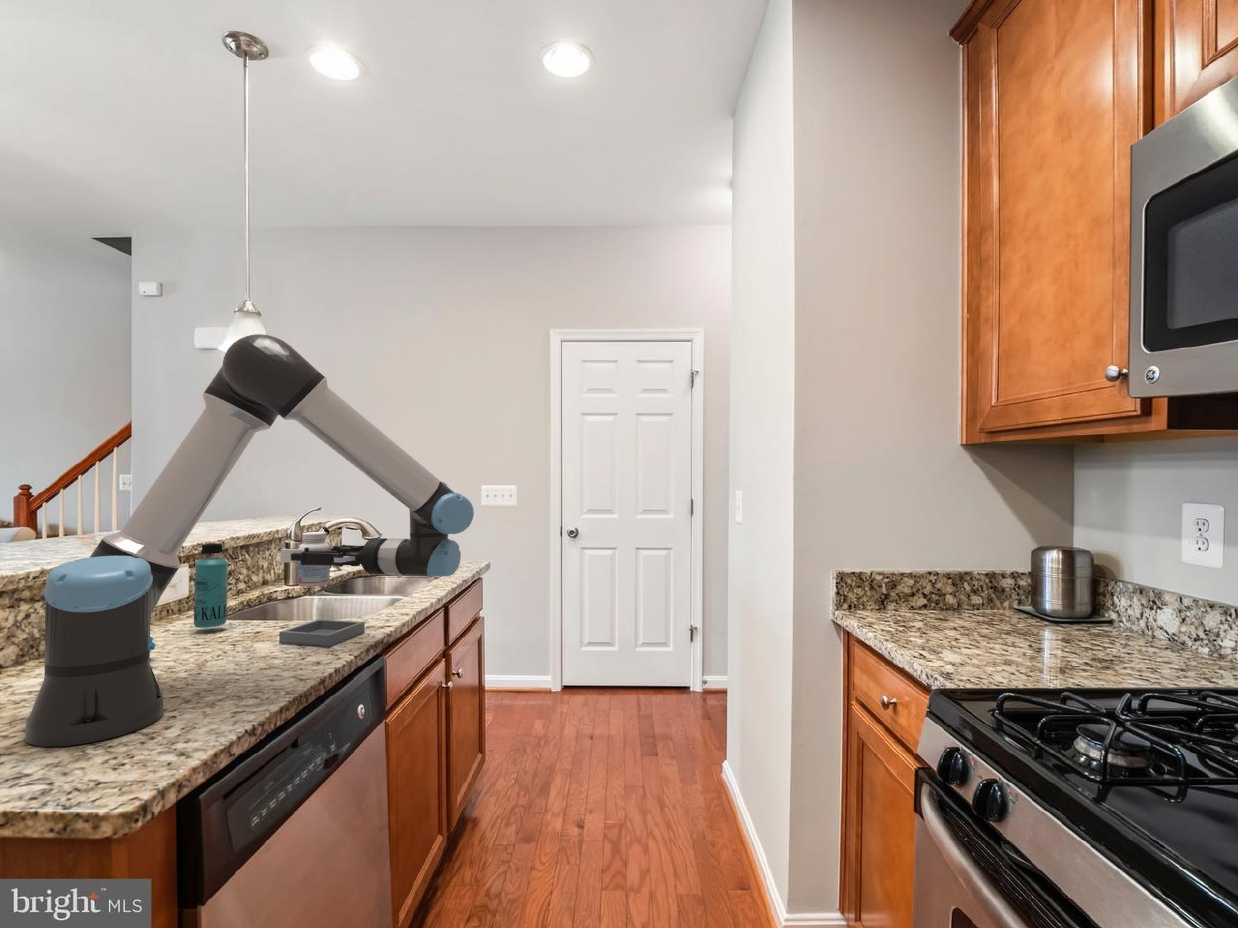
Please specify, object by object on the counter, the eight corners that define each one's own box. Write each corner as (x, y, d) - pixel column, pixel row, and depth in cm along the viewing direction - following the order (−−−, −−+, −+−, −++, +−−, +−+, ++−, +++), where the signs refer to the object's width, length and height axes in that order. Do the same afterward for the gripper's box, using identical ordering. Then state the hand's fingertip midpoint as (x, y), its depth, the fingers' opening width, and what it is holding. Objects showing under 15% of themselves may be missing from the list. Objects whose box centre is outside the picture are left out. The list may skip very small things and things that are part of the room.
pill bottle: (302, 582, 136) (302, 531, 137) (332, 581, 138) (332, 531, 138) (294, 587, 131) (294, 534, 131) (325, 586, 132) (325, 533, 132)
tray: (328, 647, 129) (328, 635, 129) (279, 643, 132) (279, 631, 132) (364, 633, 141) (364, 622, 141) (318, 629, 143) (318, 618, 143)
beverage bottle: (202, 627, 145) (204, 541, 145) (233, 627, 145) (234, 541, 146) (186, 635, 138) (187, 545, 138) (218, 634, 139) (219, 544, 139)
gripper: (358, 582, 121) (258, 578, 126) (412, 567, 139) (324, 564, 145) (358, 543, 121) (258, 541, 126) (412, 533, 139) (324, 531, 145)
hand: (294, 553), depth 135 cm, fingers closed on pill bottle, 6 cm apart
